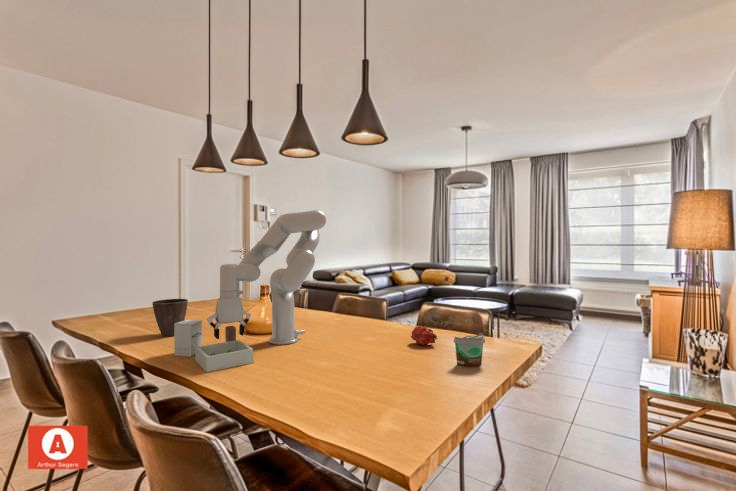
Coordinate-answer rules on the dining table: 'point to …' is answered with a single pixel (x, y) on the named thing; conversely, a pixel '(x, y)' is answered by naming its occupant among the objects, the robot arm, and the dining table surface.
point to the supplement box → (187, 337)
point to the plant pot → (169, 314)
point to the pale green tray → (223, 355)
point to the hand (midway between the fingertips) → (229, 336)
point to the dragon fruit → (423, 335)
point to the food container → (469, 350)
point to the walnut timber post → (230, 333)
